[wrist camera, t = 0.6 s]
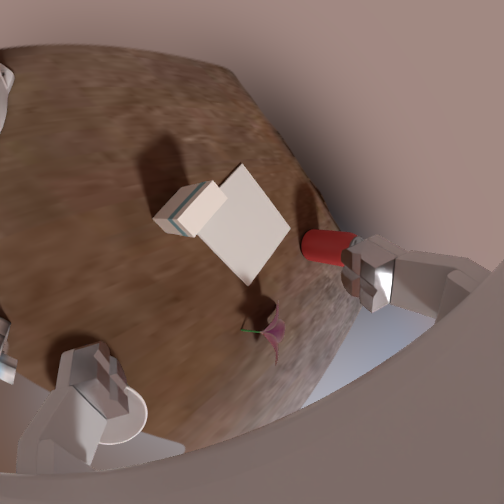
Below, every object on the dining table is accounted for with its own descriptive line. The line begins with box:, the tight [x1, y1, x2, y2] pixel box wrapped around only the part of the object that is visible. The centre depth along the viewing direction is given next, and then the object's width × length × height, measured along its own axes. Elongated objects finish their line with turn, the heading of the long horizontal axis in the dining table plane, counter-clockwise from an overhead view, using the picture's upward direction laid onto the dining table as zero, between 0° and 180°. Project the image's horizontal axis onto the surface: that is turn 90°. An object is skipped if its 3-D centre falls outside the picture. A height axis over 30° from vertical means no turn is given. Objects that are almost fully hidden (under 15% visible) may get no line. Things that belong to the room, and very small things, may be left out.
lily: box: [241, 303, 285, 366], centre depth 50 cm, size 12×12×10 cm
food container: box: [99, 385, 147, 444], centre depth 33 cm, size 12×12×6 cm
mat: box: [197, 164, 290, 286], centre depth 49 cm, size 16×14×1 cm
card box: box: [152, 181, 228, 237], centre depth 37 cm, size 3×6×10 cm, turn 136°
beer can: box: [301, 229, 364, 267], centre depth 55 cm, size 7×7×12 cm
